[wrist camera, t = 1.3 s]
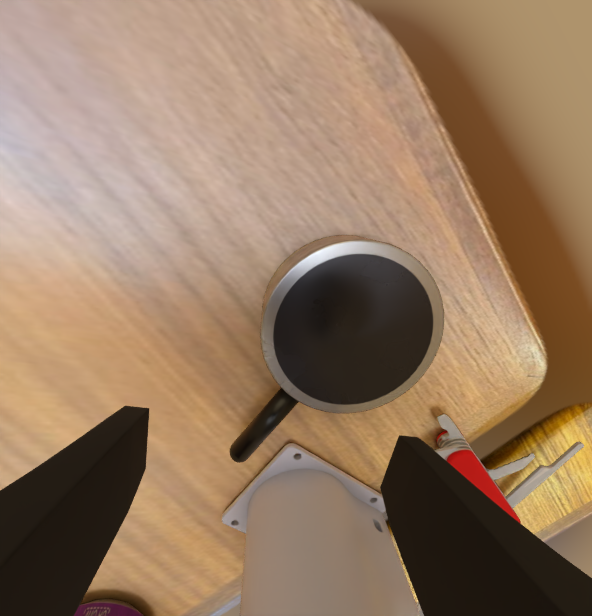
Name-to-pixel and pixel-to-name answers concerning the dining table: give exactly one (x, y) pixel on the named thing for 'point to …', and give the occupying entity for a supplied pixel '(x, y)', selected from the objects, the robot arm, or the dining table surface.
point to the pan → (344, 330)
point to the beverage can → (107, 608)
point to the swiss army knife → (472, 468)
